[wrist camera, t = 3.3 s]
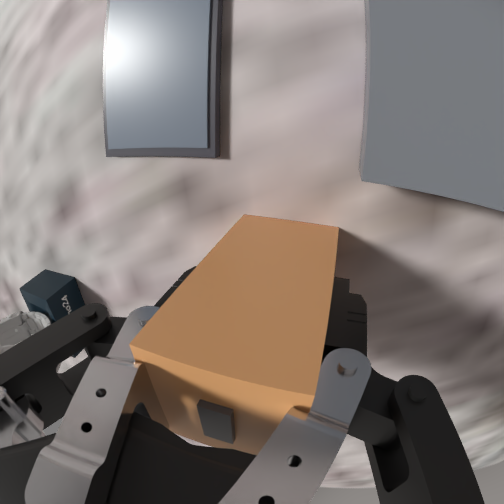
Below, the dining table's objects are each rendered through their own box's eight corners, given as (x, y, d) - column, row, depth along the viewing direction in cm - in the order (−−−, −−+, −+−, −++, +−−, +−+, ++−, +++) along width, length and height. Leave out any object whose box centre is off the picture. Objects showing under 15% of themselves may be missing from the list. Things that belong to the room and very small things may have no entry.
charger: (243, 214, 13) (123, 349, 6) (338, 227, 12) (312, 404, 5) (244, 291, 15) (161, 433, 8) (325, 306, 14) (288, 472, 7)
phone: (119, 152, 14) (105, 157, 13) (129, -56, 8) (117, -62, 7) (224, 153, 12) (214, 158, 11) (233, -87, 6) (224, -97, 5)
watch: (114, 340, 21) (30, 439, 12) (56, 316, 23) (-17, 389, 14) (90, 280, 18) (-21, 383, 9) (35, 265, 21) (-54, 337, 11)
